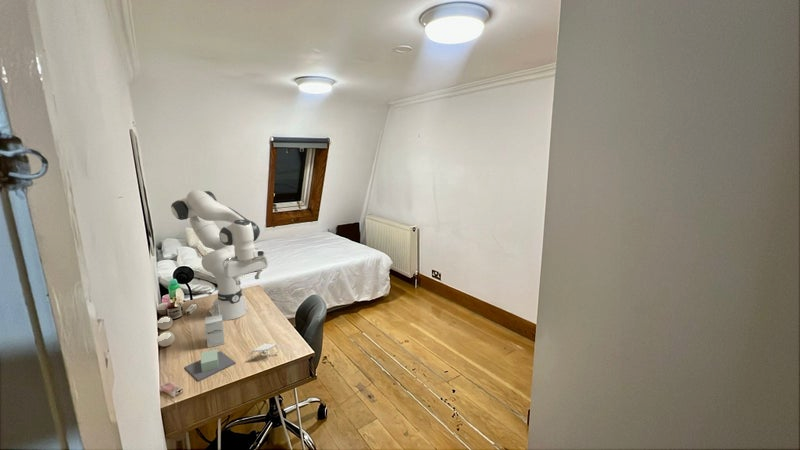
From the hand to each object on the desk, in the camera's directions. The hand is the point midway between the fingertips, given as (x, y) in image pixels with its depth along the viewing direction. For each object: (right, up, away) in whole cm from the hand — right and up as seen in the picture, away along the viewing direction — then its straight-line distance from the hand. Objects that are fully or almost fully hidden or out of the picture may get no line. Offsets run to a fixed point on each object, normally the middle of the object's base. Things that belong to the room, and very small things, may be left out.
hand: (247, 281), depth 163 cm
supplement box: (-16, -30, +1) cm, 34 cm away
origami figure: (+12, -32, -10) cm, 36 cm away
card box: (-8, -33, -17) cm, 38 cm away
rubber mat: (-8, -33, -17) cm, 38 cm away
